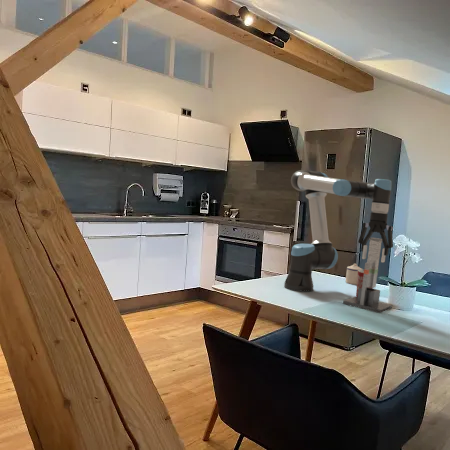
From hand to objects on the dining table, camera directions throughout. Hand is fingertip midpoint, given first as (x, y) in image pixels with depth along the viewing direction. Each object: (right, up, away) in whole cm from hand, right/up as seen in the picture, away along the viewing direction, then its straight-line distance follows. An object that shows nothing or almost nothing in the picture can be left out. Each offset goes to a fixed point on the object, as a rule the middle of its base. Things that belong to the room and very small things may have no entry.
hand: (373, 260), depth 215 cm
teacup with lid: (+6, -18, +59) cm, 62 cm away
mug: (+1, -21, +22) cm, 30 cm away
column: (-1, -12, +1) cm, 13 cm away
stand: (-2, -22, +2) cm, 22 cm away
